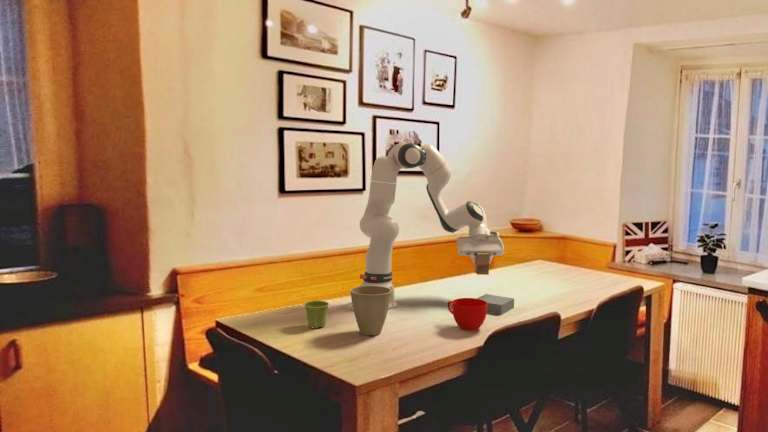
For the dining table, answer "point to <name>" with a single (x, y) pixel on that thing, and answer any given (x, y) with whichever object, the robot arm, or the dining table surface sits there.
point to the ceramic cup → (468, 312)
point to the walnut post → (482, 263)
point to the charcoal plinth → (498, 303)
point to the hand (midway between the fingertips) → (482, 262)
